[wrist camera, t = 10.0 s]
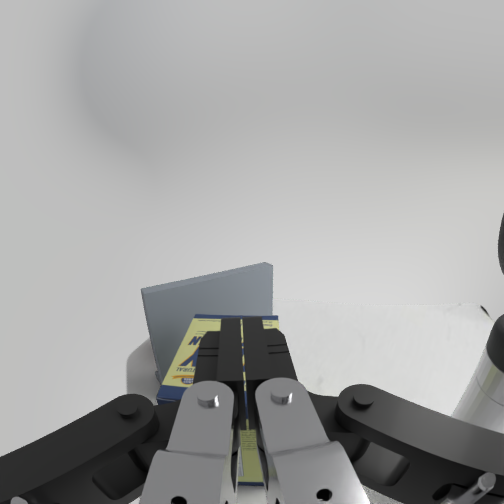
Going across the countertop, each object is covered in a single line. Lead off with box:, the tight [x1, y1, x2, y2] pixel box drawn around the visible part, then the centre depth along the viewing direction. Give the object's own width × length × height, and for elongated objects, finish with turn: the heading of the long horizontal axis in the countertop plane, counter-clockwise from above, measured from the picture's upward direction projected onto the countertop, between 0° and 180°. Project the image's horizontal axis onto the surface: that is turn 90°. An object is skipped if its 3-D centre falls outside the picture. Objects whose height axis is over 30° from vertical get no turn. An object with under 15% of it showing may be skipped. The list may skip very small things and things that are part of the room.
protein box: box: [156, 314, 279, 486], centre depth 28 cm, size 10×16×16 cm
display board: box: [141, 262, 273, 385], centre depth 42 cm, size 20×6×18 cm, turn 124°
